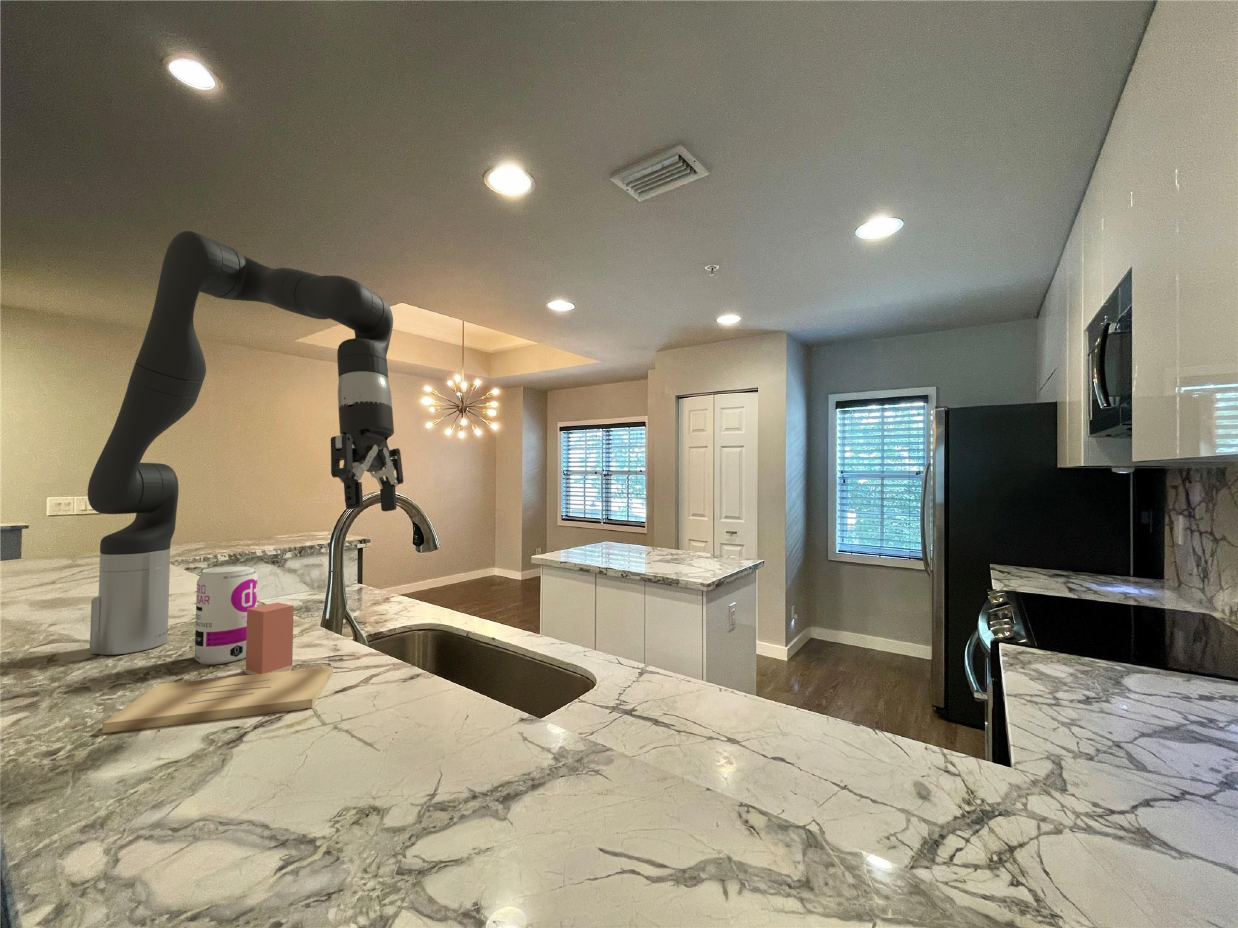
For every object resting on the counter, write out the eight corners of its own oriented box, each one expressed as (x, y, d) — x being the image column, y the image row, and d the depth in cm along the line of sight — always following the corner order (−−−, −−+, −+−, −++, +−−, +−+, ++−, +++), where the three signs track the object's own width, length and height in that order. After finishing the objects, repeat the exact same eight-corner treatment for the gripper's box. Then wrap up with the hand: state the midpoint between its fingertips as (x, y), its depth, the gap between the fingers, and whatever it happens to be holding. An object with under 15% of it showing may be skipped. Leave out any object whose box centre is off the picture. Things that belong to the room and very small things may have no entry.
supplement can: (267, 649, 89) (269, 565, 90) (226, 667, 81) (229, 573, 82) (225, 648, 90) (227, 564, 91) (181, 664, 82) (183, 572, 82)
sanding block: (261, 677, 77) (263, 612, 77) (245, 672, 79) (246, 608, 79) (292, 667, 81) (294, 605, 81) (276, 663, 83) (277, 602, 83)
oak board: (102, 733, 60) (102, 722, 60) (158, 692, 71) (158, 683, 71) (312, 707, 67) (312, 698, 67) (332, 674, 78) (332, 666, 78)
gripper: (371, 420, 86) (377, 515, 83) (310, 399, 72) (316, 511, 69) (412, 413, 85) (420, 508, 82) (359, 390, 71) (366, 503, 68)
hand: (372, 509), depth 76 cm, fingers open, 8 cm apart
